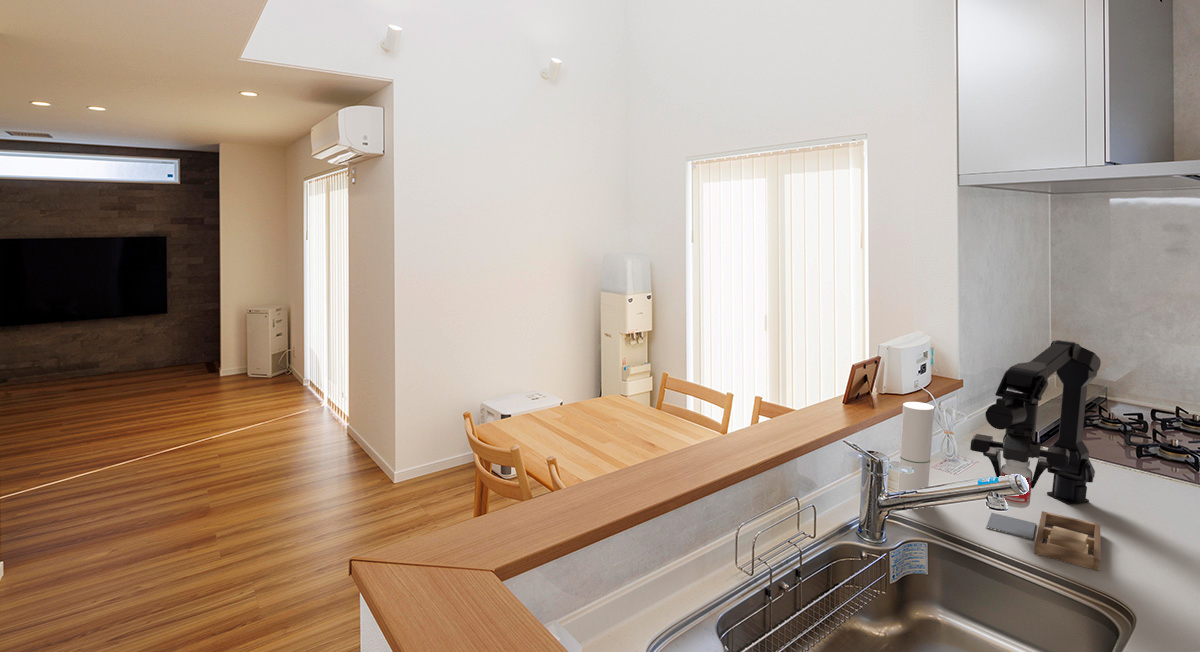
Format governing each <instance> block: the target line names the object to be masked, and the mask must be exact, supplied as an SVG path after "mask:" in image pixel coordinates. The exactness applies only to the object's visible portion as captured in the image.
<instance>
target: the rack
mask: <svg viewBox="0 0 1200 652" xmlns="http://www.w3.org/2000/svg"><path fill="white" fill-rule="evenodd" d="M1039 519H1040V520H1039V523H1038V524H1039V525H1038V528H1037V532H1036V537H1035V542H1034V551H1033V554H1034V555H1037V554H1038V556H1041V555H1042V557H1045V556H1046V557H1045V558H1048V557H1049V559H1052V558H1054V559H1053V560H1056V559H1058V560H1057V561H1060V560H1061V562H1064V561H1065V562H1064V563H1067V562H1069V563H1068V564H1072V565H1075V566H1079V567H1083V568H1087V569H1091V570H1093V571H1098V572H1099V571H1100V565H1101V564H1100V563H1101V534H1102V533H1101V527H1102V525H1101V523H1097V522H1092V521H1087V520H1083V519H1079V518H1074V517H1069V516H1066V515H1065V516H1064V515H1061V514H1056V513H1052V512H1048V511H1044V510H1042V511H1041V514H1040V518H1039ZM1046 524H1047V525H1051V526H1056V527H1060V528H1064V529H1068V530H1071V531H1075V532H1079V533H1083V534H1087V535H1088V534H1089V535H1091V536H1093V537H1090V536H1088V537H1087V545H1088V551H1091V552H1092V554H1089V553H1088V554H1084V553H1080V552H1076V551H1072V550H1068V549H1064V548H1060V547H1056V546H1052V545H1048V544H1047V543H1044V542H1043V539H1044V540H1047V541H1048V535H1050V532H1051V530H1052V528H1053V527H1048V526H1047V525H1046Z"/></svg>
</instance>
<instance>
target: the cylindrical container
mask: <svg viewBox="0 0 1200 652" xmlns="http://www.w3.org/2000/svg"><path fill="white" fill-rule="evenodd" d="M934 412H935V407H934V405H932V404H930V403H926V402H921V401H907V402H904V403H903V404H902V415H901V430H900V431H901V432H900V433H901V434H900V447H899V463H902V464H905V465H909V466H912V467H913V468H914V473H911V474H905V473H899V472H898V476H899V480H898V479H897V492H898V491H899V490H912V489H917V488H922V487H928V488H929V485H930V484H929V483H930V469H931V456H932V455H931V454H932V441H933V428H934V427H933V425H934V415H935V414H934ZM899 463H898V464H899Z"/></svg>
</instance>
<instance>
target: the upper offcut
mask: <svg viewBox="0 0 1200 652" xmlns="http://www.w3.org/2000/svg"><path fill="white" fill-rule="evenodd" d="M1051 528H1052V530H1051V532H1050V541H1049V543H1051V544H1055V545H1058V546H1062V547H1065V548H1069V549H1073V550H1076V551H1080V552H1083V553H1084V551H1085V548H1086V546H1087V537H1089V535H1088V534H1087V533H1084V532H1080V531H1075V530H1071V529H1067V528H1063V527H1058V526H1054V525H1052V527H1051Z"/></svg>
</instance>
